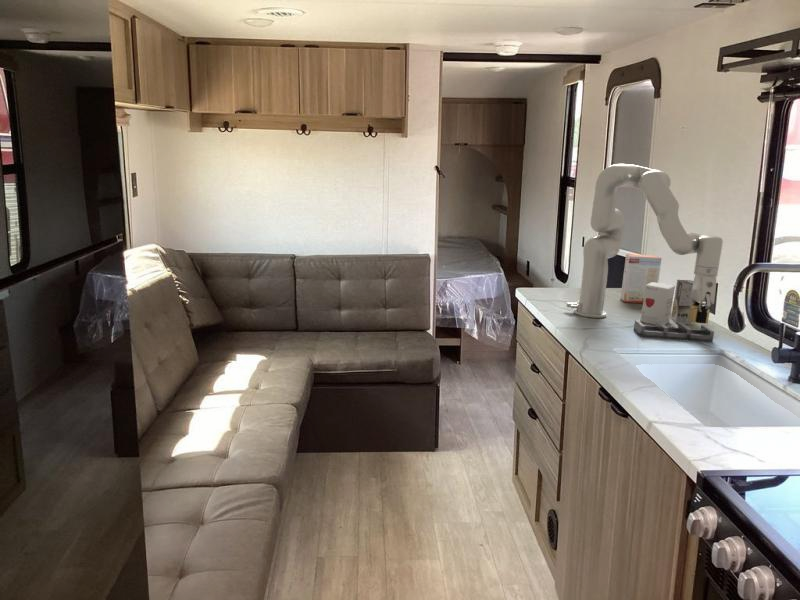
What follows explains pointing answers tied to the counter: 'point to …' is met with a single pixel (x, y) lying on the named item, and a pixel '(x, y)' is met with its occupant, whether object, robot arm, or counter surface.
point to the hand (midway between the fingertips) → (697, 320)
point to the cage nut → (694, 312)
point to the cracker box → (639, 276)
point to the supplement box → (657, 303)
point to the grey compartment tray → (674, 332)
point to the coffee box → (682, 301)
